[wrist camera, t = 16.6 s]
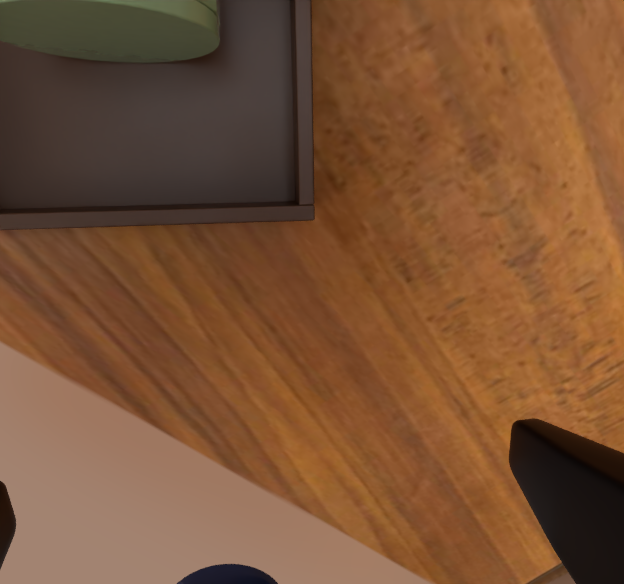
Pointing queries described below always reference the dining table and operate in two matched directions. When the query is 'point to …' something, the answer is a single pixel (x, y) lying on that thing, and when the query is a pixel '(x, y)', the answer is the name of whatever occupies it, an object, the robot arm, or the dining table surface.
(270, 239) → the dining table surface
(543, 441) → the robot arm
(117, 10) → the cup
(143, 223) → the tray
